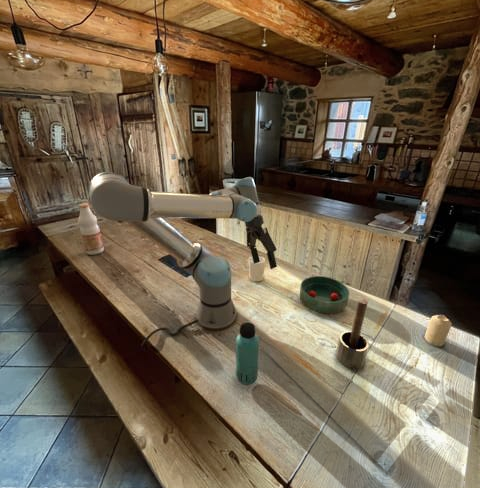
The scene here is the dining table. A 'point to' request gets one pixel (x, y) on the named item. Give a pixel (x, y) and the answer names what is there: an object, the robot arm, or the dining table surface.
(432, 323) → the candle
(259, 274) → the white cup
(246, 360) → the beverage bottle
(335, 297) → the tomato
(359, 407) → the dining table surface
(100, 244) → the fruit juice
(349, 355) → the crock
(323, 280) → the bowl
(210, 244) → the dining table surface
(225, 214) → the robot arm
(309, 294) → the tomato
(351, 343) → the stirring stick
